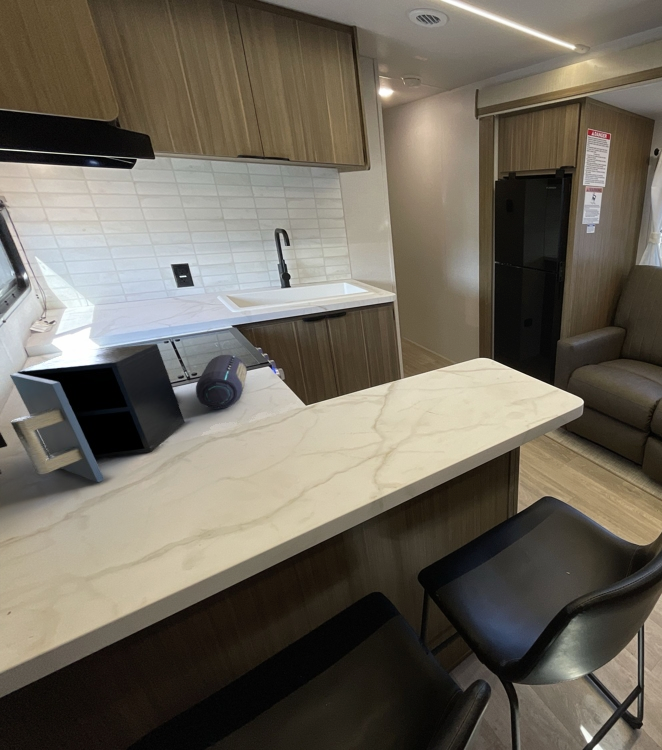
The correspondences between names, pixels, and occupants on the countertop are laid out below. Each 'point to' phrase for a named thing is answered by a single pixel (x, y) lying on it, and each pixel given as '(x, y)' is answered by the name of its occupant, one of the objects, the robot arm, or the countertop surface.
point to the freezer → (117, 397)
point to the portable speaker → (221, 382)
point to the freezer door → (52, 429)
